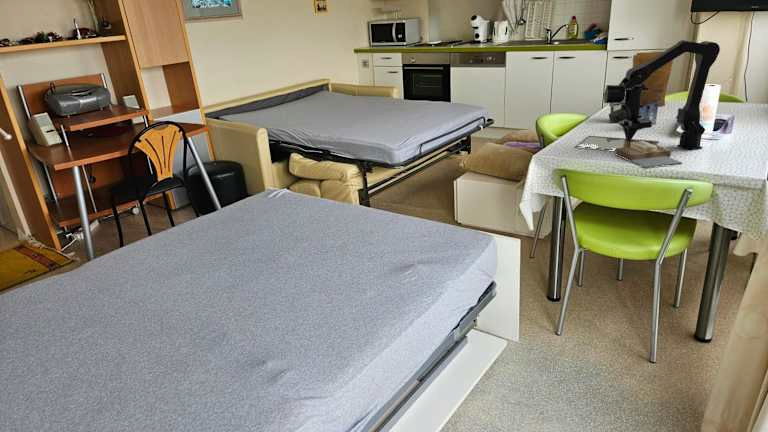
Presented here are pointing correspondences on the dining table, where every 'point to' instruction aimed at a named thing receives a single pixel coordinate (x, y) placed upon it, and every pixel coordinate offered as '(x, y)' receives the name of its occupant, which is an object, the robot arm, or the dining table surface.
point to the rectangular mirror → (610, 142)
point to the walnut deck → (641, 153)
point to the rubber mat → (656, 161)
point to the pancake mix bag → (654, 79)
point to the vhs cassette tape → (649, 112)
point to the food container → (616, 106)
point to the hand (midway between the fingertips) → (628, 141)
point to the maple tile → (643, 147)
